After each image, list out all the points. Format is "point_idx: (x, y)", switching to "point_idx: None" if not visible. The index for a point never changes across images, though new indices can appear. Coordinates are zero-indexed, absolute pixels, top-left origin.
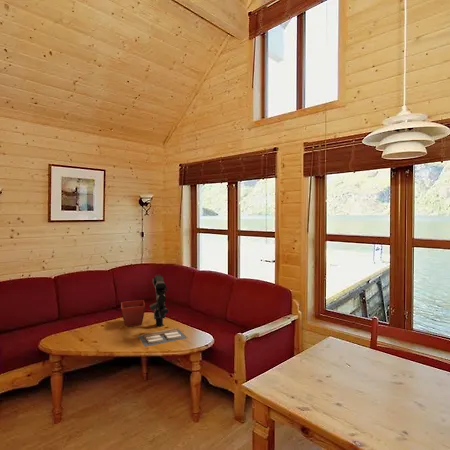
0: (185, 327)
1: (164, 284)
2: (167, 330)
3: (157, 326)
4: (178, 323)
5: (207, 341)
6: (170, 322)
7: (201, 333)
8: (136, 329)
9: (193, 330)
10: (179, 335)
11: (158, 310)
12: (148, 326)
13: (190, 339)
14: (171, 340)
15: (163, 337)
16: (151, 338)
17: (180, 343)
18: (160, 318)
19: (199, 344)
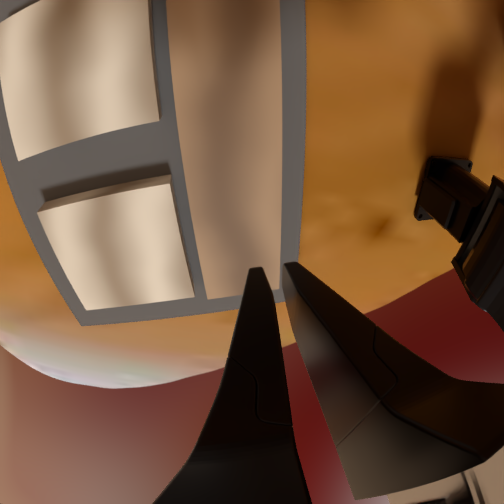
0: (291, 333)
1: None
2: (254, 226)
3: (430, 165)
4: (382, 303)
5: (50, 372)
6: (430, 263)
7: (152, 378)
8: (464, 4)
9: (214, 360)
10: (87, 300)
11: (436, 473)
12: (473, 107)
13: (68, 330)
14: (39, 225)
15: (120, 159)
16: (69, 28)
17: (7, 273)
18: (288, 273)
19: (13, 343)
